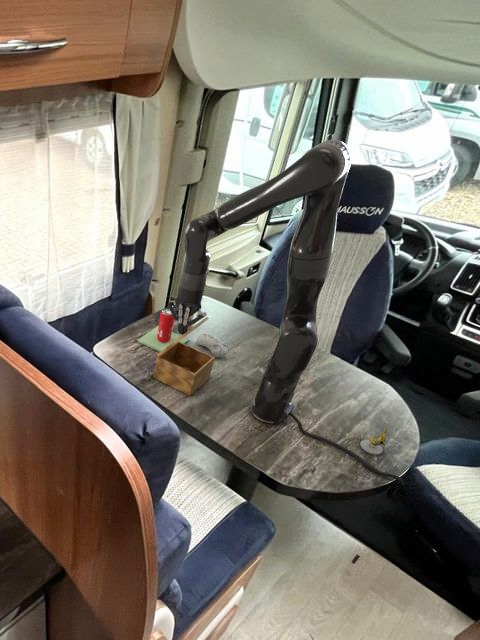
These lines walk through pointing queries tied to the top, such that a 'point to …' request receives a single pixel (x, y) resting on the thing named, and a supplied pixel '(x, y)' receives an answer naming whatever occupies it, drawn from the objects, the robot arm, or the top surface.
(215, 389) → the top surface
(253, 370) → the top surface
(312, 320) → the robot arm
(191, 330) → the chest lid
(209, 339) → the decorative stone
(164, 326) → the beverage can
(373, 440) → the figurine
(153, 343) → the pad
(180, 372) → the chest
